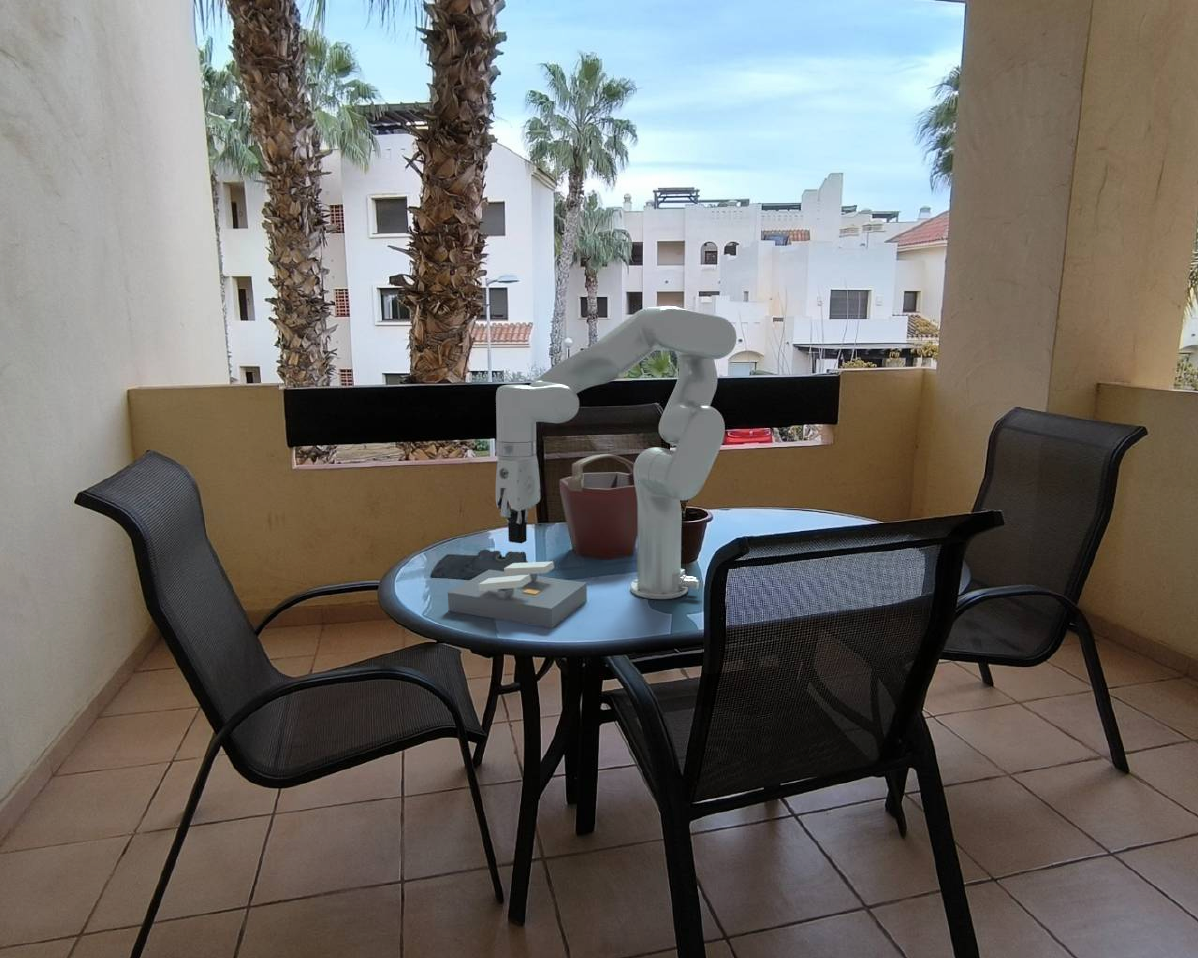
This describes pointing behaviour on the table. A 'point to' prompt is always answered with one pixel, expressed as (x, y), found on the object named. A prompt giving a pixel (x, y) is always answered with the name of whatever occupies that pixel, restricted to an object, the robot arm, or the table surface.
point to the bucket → (600, 510)
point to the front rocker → (504, 582)
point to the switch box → (520, 599)
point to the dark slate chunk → (475, 564)
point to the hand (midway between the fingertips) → (517, 541)
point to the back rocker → (529, 568)
